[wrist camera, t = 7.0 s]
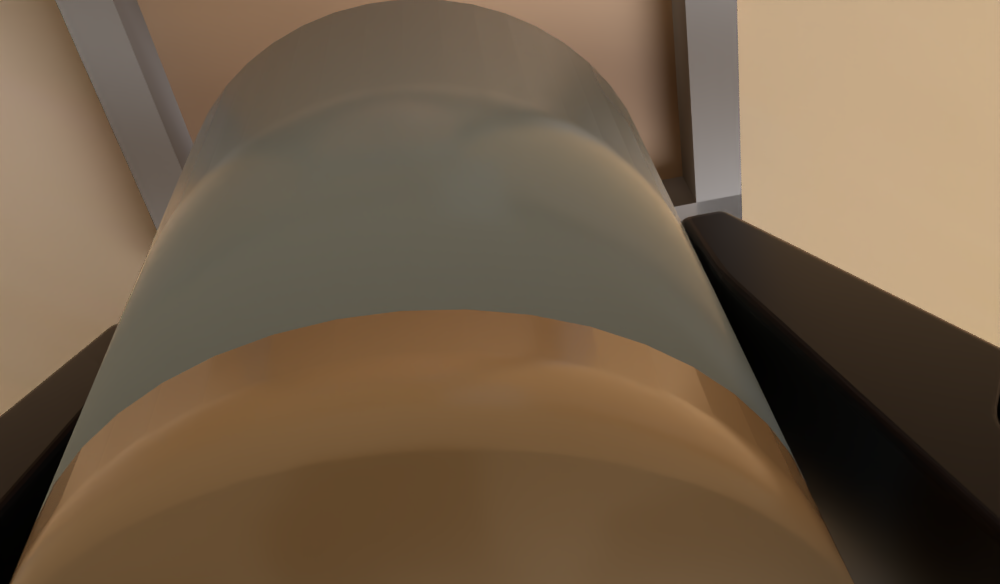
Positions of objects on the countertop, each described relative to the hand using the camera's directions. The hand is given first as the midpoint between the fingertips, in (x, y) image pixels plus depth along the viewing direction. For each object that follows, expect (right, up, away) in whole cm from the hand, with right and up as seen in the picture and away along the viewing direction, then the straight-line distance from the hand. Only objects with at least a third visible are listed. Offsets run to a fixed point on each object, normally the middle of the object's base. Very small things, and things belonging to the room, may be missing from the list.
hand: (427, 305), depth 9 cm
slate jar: (0, +1, +1) cm, 1 cm away
